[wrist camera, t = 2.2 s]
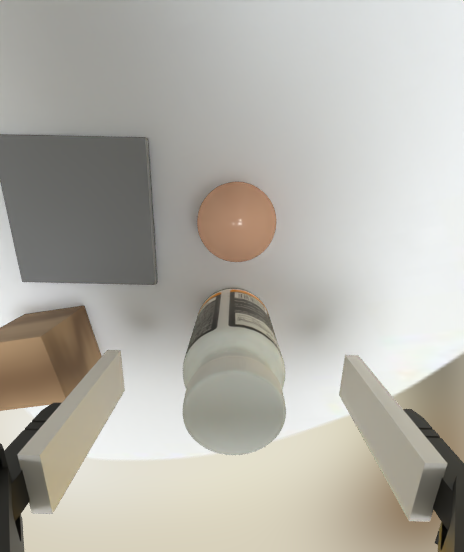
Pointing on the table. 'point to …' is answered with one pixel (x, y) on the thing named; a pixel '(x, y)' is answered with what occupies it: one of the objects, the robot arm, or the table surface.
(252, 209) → the peach dome knob
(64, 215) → the coaster
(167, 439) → the table surface
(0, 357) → the walnut block
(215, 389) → the pill bottle
